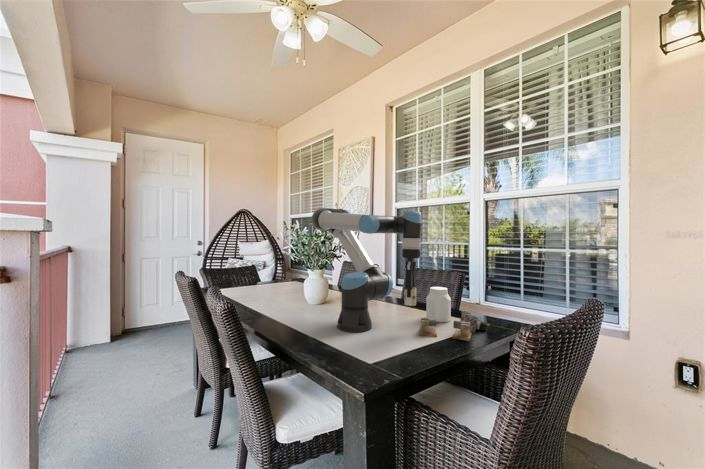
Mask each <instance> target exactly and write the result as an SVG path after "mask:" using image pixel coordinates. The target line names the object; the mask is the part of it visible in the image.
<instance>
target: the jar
mask: <svg viewBox="0 0 705 469" xmlns="http://www.w3.org/2000/svg"><path fill="white" fill-rule="evenodd" d="M448 292H449V291H448V288H447V287H445V286H444V287H443V286H431V287H429V293H428V294H427V295H426V298H425V299H426V300H425V301H426V302H425V303H426V305H425V306H426V310H425V314H426V315H425V318H429V319H436V323H440V322H441V323H442V322H443V323H448V322H451V320H452V317H451V316H452V315H451V314H452V313H451V312H452V310H451V308H452V304H451V303H452V298H451V297H450V295H449V293H448Z"/></svg>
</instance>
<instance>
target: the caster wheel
mask: <svg viewBox="0 0 705 469" xmlns="http://www.w3.org/2000/svg"><path fill="white" fill-rule="evenodd" d="M459 320H460V321H461V322H470V332H471V333H472V334H473V333H474V334H475V333H476V330H482V331H488V330H487V329H488V326H489V325H488V324H487V323H486V322H482V321H481V320H480V319H479V317H477V316H475V315H472V314H469V313H463V312H461V316H460V319H459Z"/></svg>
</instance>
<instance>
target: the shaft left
mask: <svg viewBox="0 0 705 469" xmlns="http://www.w3.org/2000/svg"><path fill="white" fill-rule="evenodd" d="M420 319H421V321H420V327H419V335H420V336H424V337H438V334H437V330H436V327H437V322H436V319H429V318H426V317H421V318H420Z"/></svg>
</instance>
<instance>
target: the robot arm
mask: <svg viewBox="0 0 705 469" xmlns="http://www.w3.org/2000/svg"><path fill="white" fill-rule="evenodd" d="M310 221H311V224H312V226H313V227H314V228H315V229H316V230H318V231H320V232H321V231H322V232H330V233H331V234H332V236H333V237H334V238H336V239H338V240H339V242H340V244H341V246H342V247H343V249H344V250H345V253H346V254H347V255H348V256H347V257H348V258H349V260H350V261H351V263H352V265H353V267H354V268H355V270H356V272H349V273H346V274H344V275H343V276H342V279H341V284H340V287H341V307H340V308H341V310H340V313H339V316H338V319H337V325H336V326H337V329H338V330H340V331H343V332H348V333H361V332H367V331H369V330H371V329H372V326H373V322H372V319H371V316H370V312H369V301H374V300H381V299H384V298H387V297H389V295H391V293H392V291H393V286H394V282H393V278H392V277H391V275H390V274H389V273H387V272H385V271H382V270H381V268H380V266H379V265H375V264H374V262H373V261H372V259H371V258H370V256H369V254H368V253H367V251H366V249H365V248H364V246H363V245H362V242H360V240H359V239H358V236H357V234H356V233H355V232H360V233H363V234H368V235H369V234H370V235H371V234H402V241H401V242H402V243H401V245H402V249H401V250H402V252H401V256H402V258H403V259H406V260H407V261H406V262H405V279H404V280H405V284H404V285H405V286H404V287H403V289H404V290H405V289H406V304H405V305H404V306H408V305H412V297H413V289H412V287H417V284H416V266H417V261H415V259H420V258H421V249H420V248H421V244H422V243H423V241H422V240H421V237H422V236H421V235H422V234H421V233H422V232H421V231H422V223H423V222H422V213H421V212H420V211H413V210H411V211H403V214H402V216H397V215H377V214H375V215H374V214H360V213H359V214H358V213H357V214H356V213H351V212H350V211H349V210H347V209H343V208H327V207H326V208H325V207H324V208H323V207H322V208H318V209H316V210H315V211H314V212H313V214H312V215H311V220H310Z"/></svg>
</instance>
